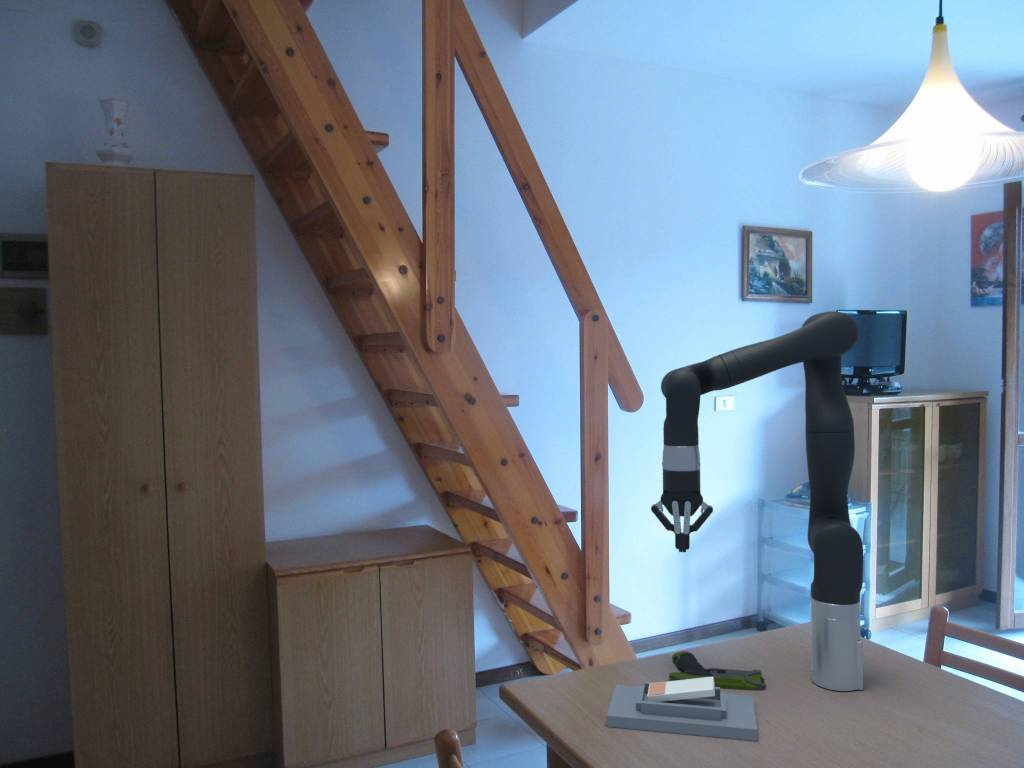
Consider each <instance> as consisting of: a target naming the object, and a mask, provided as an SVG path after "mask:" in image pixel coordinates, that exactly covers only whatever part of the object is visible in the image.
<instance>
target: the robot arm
mask: <svg viewBox="0 0 1024 768" xmlns="http://www.w3.org/2000/svg"><path fill="white" fill-rule="evenodd" d="M856 323H857V322H856V321H855V320H854V318H852V317H851V316H850V315H849V314H847V313H845V312H841V311H837V310H832V311H831V310H830V311H824V312H819V313H816V314H812V315H811V316H810V317H808V318H807V319H806V320H805V321H804V323H803V324H802V326H801V327H799V328H797V329H795V330H793V331H791V332H788V333H785V334H783V335H780V336H777V337H774V338H770V339H767V340H763V341H758V342H756V343H752V344H748V345H745V346H741V347H738V348H735V349H731V350H728V351H726V352H724V353H721V354H718V355H714V356H712V357H711V358H708V359H706V360H703V361H700V362H697V363H692V364H687V365H686V366H681V367H679V368H675V369H672V370H671V371H668V372H667V373H665V375H664V376H663V378H662V380H661V383H660V391H661V394H662V395H663V397H664V398H665V414H666V415H665V419H664V420H663V449H662V461H661V465H662V494H661V496H660V500H659V501H658V502H656V503H654V504H652V505H651V507H650V511H651V512H652V513H653V514H654V516H655V517H656V518H657V519H658V521H659V522H660V524H661V525H662V526H663V527H664V528H665V530H666V531H668V532H672V533H674V540H675V541H674V545H675V549H676V550H678V553H687V550H689V549H690V546H691V545H690V536H691V534H692V533H693V532H698V531H699V529H701V527H702V526H703V524H704V523H705V522H706V521H707V520H708V518H709V517H710V516H711V515H712V514H713V512H714V508H713V505H709V504H708V503H706V502H705V501H704V496H703V495H702V493H701V455H700V454H701V453H700V447H699V445H700V443H699V441H700V440H699V436H700V435H699V415H700V406H701V396H703V395H705V394H707V393H710V392H716V391H723V390H727V389H729V388H730V389H731V388H732V387H735V386H738V385H742V384H744V383H747V382H749V381H752V380H755V379H757V378H760V377H763V376H765V375H767V374H770V373H773V372H775V371H779V370H780V369H785V368H787V367H790V366H793V365H797V364H800V363H802V364H803V370H804V381H805V384H804V385H805V390H804V391H805V394H804V395H805V399H804V401H805V402H804V404H805V405H804V406H805V407H804V408H805V410H804V411H805V412H804V413H805V451H806V462H807V463H806V465H807V474H808V475H807V476H808V484H809V490H810V491H809V496H810V498H809V511H808V515H809V516H808V524H807V525H808V526H807V543H808V545H809V548H810V550H811V552H812V553H813V580H812V582H811V584H810V627H811V628H810V631H811V633H810V634H811V635H810V640H811V641H810V642H811V644H810V647H811V648H810V651H811V653H810V654H811V655H810V656H811V659H810V660H811V668H810V669H811V681H812V682H813V683H814V684H815V685H817V686H818V687H821V688H824V689H826V690H827V689H828V690H829V691H837V692H839V691H840V692H850V691H851V692H852V691H855V690H857V691H858V690H860V691H861V690H862V691H863V690H864V649H863V648H864V645H863V640H862V639H861V592H862V589H863V585H864V584H863V583H864V581H863V580H864V546H863V540H862V536H861V535H860V534H859V532H858V531H857V530H856V529H855V528H854V527H853V526H852V525H851V520H850V513H849V512H850V511H849V501H848V490H849V486H850V481H851V476H852V472H853V467H854V464H855V463H854V462H855V454H856V448H855V447H856V445H855V443H856V441H855V426H854V425H855V423H854V419H853V414H852V411H851V407H850V403H849V401H848V398H847V395H846V392H845V390H844V386H843V385H844V384H843V377H842V357H843V355H844V354H846V353H848V352H850V351H851V350H852V349H853V348H854V346H855V345H856V343H857V341H858V338H859V337H858V336H859V329H858V325H857V324H856ZM663 506H664V507H663ZM700 507H701V508H700ZM664 508H665V509H666V511H668V513H669V515H670V516H672V517H673V518H672V519H673V523H672V522H671V521H670V519H668V517H667V516H666V515H665V513H663V512H664ZM699 508H700V513H701V514H700V515H699V516H698V518H697V519H695V521H694V523H692V524H691V517H692V516H694V515H695V513H696V512H697V511H698V510H699ZM681 517H683V527H682V525H681V524H682V523H681ZM682 531H683V532H682Z"/></svg>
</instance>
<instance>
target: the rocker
mask: <svg viewBox="0 0 1024 768" xmlns="http://www.w3.org/2000/svg"><path fill="white" fill-rule="evenodd" d="M654 682H655V683H650V684H649V690H648V695H647V698H648V701H651V702H662V701H672V700H682V699H692V698H701V697H711V696H715V683H714V678H713V677H704V678H695V679H686V680H677V681H669V680H667V681H664V680H663V681H654Z"/></svg>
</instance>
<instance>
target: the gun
mask: <svg viewBox="0 0 1024 768" xmlns="http://www.w3.org/2000/svg"><path fill="white" fill-rule="evenodd" d="M671 660H672V662H673V663H674V664H675V666H676V667H677V668H678V670H680V671H681V672H679V671H673V672H669V674H668V676H669V677H668V681H677V680H686V679H695V678H704V677H713V678H714V683H715V687H720V689H728V690H729V689H730V690H745V691H746V690H747V691H766V688H767V685H766V683H765V678H764V676H763V674H762V671H761V670H760V669H753V670H740V669H727V668H716V667H710V668H704V667H703V665H702V664H700V662H698V659H697V657H696V656H695V655H694V654H693V653H691V652H690V651H687V650H682V651H679V652H675V653H673V654H672V656H671Z"/></svg>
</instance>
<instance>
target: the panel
mask: <svg viewBox="0 0 1024 768" xmlns="http://www.w3.org/2000/svg"><path fill="white" fill-rule="evenodd" d="M655 682H656V681H649V680H647V681H644V685H641V684H640V685H639V686H637V685H635V686H634V685H621V684H615V685H614V689H613V692H612V694H611V695H612V696H611V699H610V702H609V706H608V709H607V713H606V727H607V728H617V729H618V728H619V729H627V730H628V729H629V730H640V731H648V732H649V731H650V732H658V733H670V734H681V735H689V736H690V735H691V736H699V737H700V736H701V737H710V738H711V737H712V738H719V739H720V738H722V739H730V740H731V739H733V740H741V741H742V740H743V741H751V742H753V741H754V742H757V741H758V725H757V718H756V710H755V703H754V696H752V695H743V694H731V693H726V692H725V691H721V688H720V687H715V696H711V697H701V698H692V699H682V700H672V701H662V702H651V701H648V698H647V695H648V690H649V684H650V683H655Z"/></svg>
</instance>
